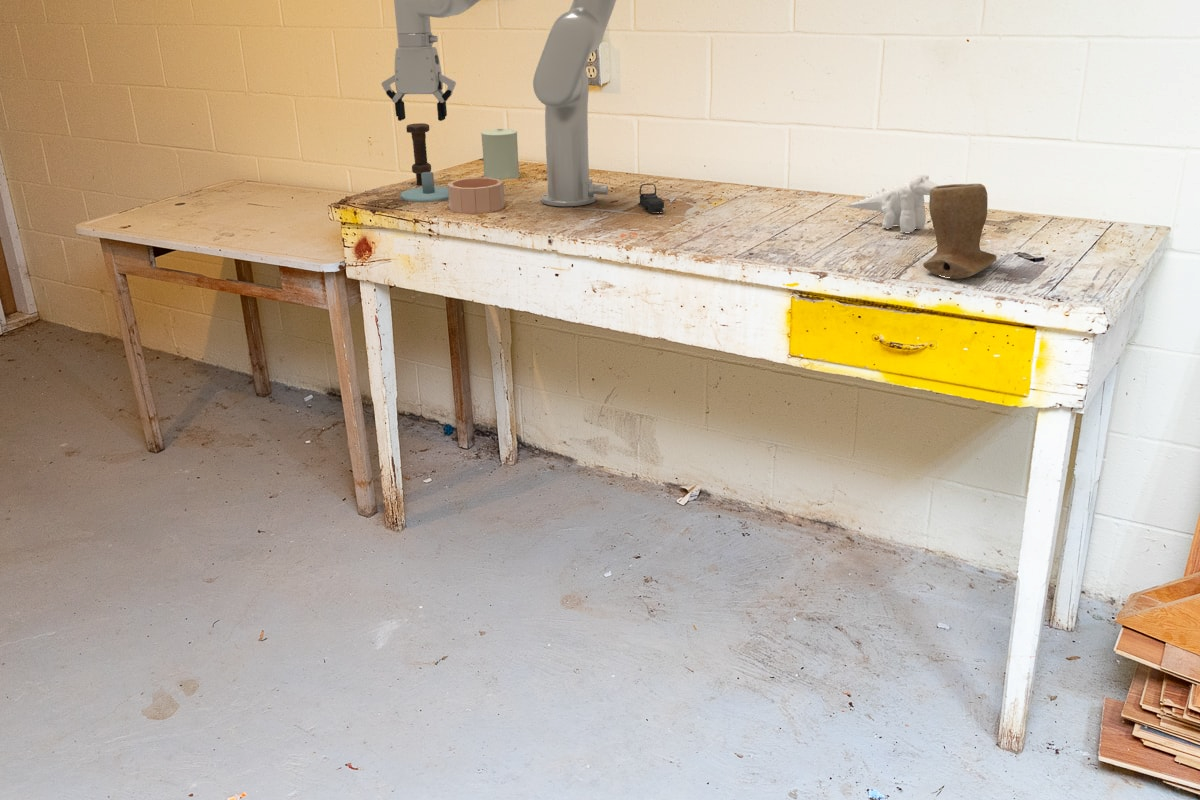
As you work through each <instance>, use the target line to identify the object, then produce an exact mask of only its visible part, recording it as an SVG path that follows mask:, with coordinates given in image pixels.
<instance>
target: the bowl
mask: <svg viewBox="0 0 1200 800" xmlns="http://www.w3.org/2000/svg"><path fill="white" fill-rule="evenodd" d="M446 187H448V199H449V200H448V208H449V210H450V211H451V212H453V213H458V214H465V215H466V214H471V215H472V214H475V215H476V214H477V215H478V214H485V213H488V214H489V213H493V212H496V211H500V210H501V211H502V210H503V211H505V209H506V208H504V207H505V206H506V204H505V187H504V181H503V180H502V179H495V178H484V177H468V178H467V177H466V178H460V179H456V180H451V181H450V182H448V183H447V186H446Z"/></svg>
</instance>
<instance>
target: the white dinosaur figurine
mask: <svg viewBox="0 0 1200 800" xmlns="http://www.w3.org/2000/svg"><path fill="white" fill-rule="evenodd" d="M936 186H940V184H939V185H938V184H937V183H935V182H934V181H931V180H930V177H929V175H927V174H925V175H924V174H919V175H916V176H914V177H912V178H910V179H909V181H907V182H905V183H903V184H900V185H897V186H895V187H893V188H892V189H888V190H886V189H885V188H884V187H883V188H881V192H880V191H879V190H876V194H875V195H874V194H873V193H871V194H870V196H869V197H868V196H865V197H864V199H861V198H857V201H856V202H853V203H850V204H848V205H844V207H846V208H852V209H859V210H866V211H877V212H880V213H882V214H883V216H884V217H883V221H882V223H881V224H882V226H881V227H884V228H891V229H892V228H893V227H894V226H893V225H899V228H900V231H902V232H901V233H903V232H912V233H913V232H914V231H915V228H916V229H920V230H922V229H923V228H924V227H925V225H926V221H927V220H926V219H927V218H926V217H927V216H926V215H927V214H926V208H925V196H930V191H931V189H932V188H933V187H936ZM884 228H883V229H884ZM921 228H922V229H921Z"/></svg>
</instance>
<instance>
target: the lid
mask: <svg viewBox="0 0 1200 800" xmlns="http://www.w3.org/2000/svg"><path fill="white" fill-rule="evenodd" d="M421 178H422V185H421V187H415V188H410V189H407V190H404V191H402V192H401V193H400V198H402V199H404V200H403V201H408V202H415V203H418V202H419V203H421V202H422V203H428V202H440V201H439V200H445V199H448V186H435V179H434V178H435V177H434V172H432V171H431V172H423V173H421Z"/></svg>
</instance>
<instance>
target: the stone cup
mask: <svg viewBox="0 0 1200 800" xmlns="http://www.w3.org/2000/svg"><path fill="white" fill-rule="evenodd" d="M928 203H929V204H928V207H929V215H930V219H931V222H932V226H933V229H934V234H935V239H936V245H937V246H936V247H937V248H936V252H935V253H934V254H933V255H932V256H931V257H930V258H928V260H927V261H925V262H923V264H922V266H923V269H926V270H927V271H928V272H930V273H932V274H934V275H935V274H937V275H941V276H945V277H950V278H954V279H953V280H959V279H961V280H962V279H965V278H971V277H972V276H974V275H977V274H978V273H980V272H981V271H983V270H986V269H987V268H989V267H990V266H991V265H992V264H994V263H995V262H996V260H997V255H996V254H993V253H990V252H987V251H983V250H981V247H980V243H981V238H982V234H983V228H984V226H985V224H986V221H987V217H988V192H987V187H986V186H985V185H984V184H982V183H966V184H965V183H955V184H944V185H942V184H941V185H939V186H936V187H933V188H932V189H931V191H930V195H929V202H928ZM937 275H936V276H937Z"/></svg>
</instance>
